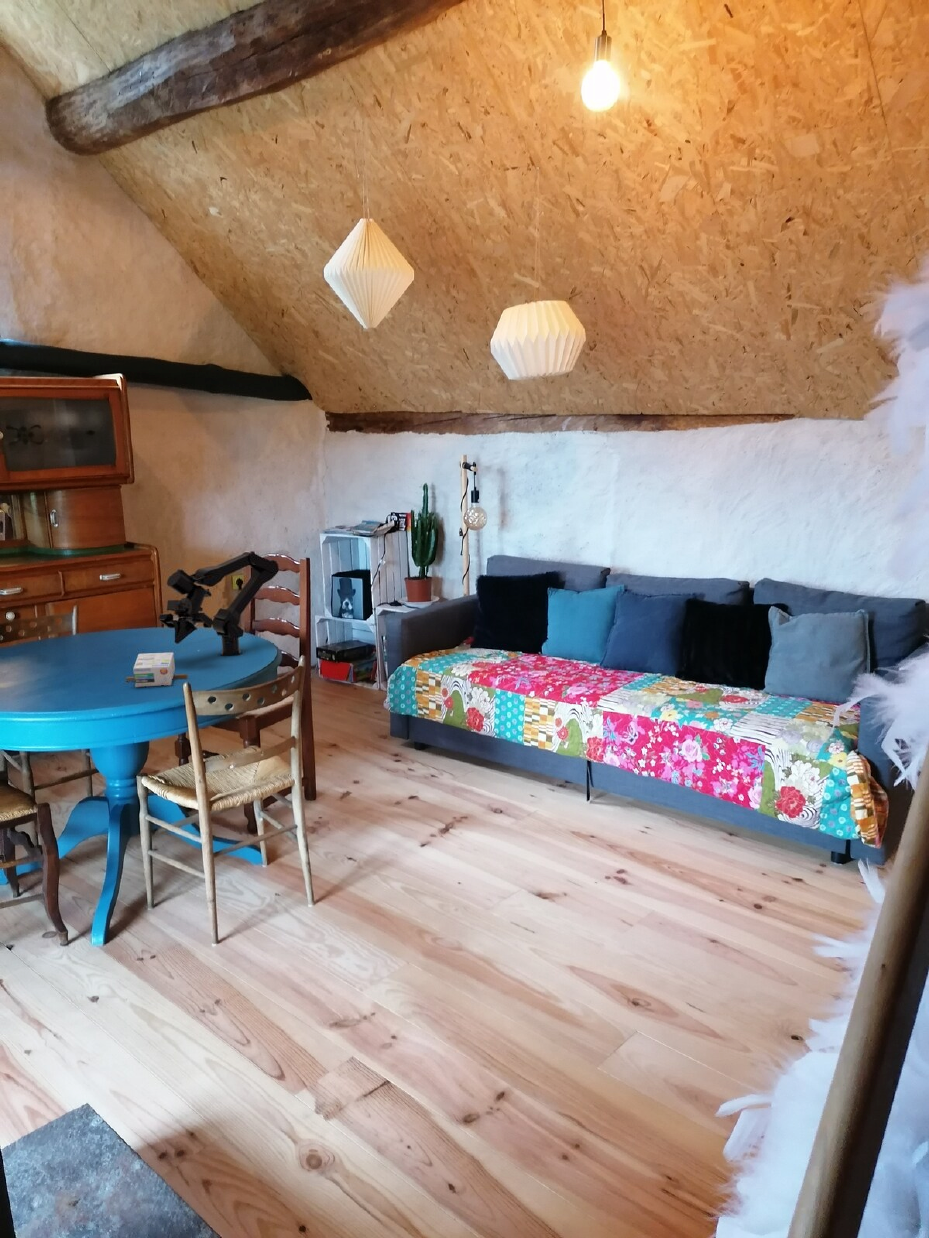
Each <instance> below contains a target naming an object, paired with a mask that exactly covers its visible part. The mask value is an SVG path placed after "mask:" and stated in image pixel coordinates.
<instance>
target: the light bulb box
mask: <svg viewBox="0 0 929 1238" xmlns="http://www.w3.org/2000/svg"><path fill="white" fill-rule="evenodd" d="M174 655H175V654H174V652H156V653H155V652H152V653H138V655H137V658H136V661H135V662H134V663H135V664H134V666H133V669H132V670H133V675H134V676H133V677H135V682H134V684H135V688H144V687H145V686H146V687H157V686H158V687H159V686H160V687H161V685H164V686H171V685H172V683H173V680H174V679H173V675H174V674H175V670H176V667H175V666H176V665H175V656H174ZM172 679H173V680H172Z"/></svg>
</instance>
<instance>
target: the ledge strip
mask: <svg viewBox="0 0 929 1238" xmlns="http://www.w3.org/2000/svg"><path fill="white" fill-rule="evenodd" d="M188 677H189V675H188V673H178V674H177V673H176V674H175V673H174V675H173V680H187V679H188ZM126 681H135V677H134V676H126V678H125V682H126Z"/></svg>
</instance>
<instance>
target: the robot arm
mask: <svg viewBox="0 0 929 1238" xmlns="http://www.w3.org/2000/svg"><path fill="white" fill-rule="evenodd" d="M248 566H249V567H250V568H252V571H251V577H250V578H249V580H247V582H246V583H245V585H244V586H243V587H242V588H241V590H240V591H239V593H238V594H237V596H236V597H235V598H234V599H233V601H232V602H231V604H230V605H229V606H228V607H227V608H222V607H221V608H219V609H218V611H217V612H216V614H215V615H213V618H212V617H210V616H209V615H208V614H207V613H205V612H203V607H202V606H203V603H204V600H205V598H209V597H210V598H211V597H212V593H211V591H210V588H212V587H215V586H216V585H218V584H219V583H221V582H222V581H223V579H224V578H225V577H226V576H228V575H231V574H233V573H235V572H237V571H239V570H241V569H244V568H246V567H248ZM279 570H280V569H279V564H278V562H277V561H276V560H274V559H267V558H265V557H262V556H260V555H258V554H256V553H255V552H249V551H244V552H243V553H241V554H240V555H237V556H235V557H232V558H230V559H229V560H226V561H224V562H222V563H220V564H217V565H211V566H205V567H201V568H198V569H197V570H196V571H195V572H194V573H192V574H188V573H186V571H185V570H183V569H181V568H177V570H176V571H175V572H174V573H172V574H171V575H169V577H168V578H167V580H166V585H167V586H168V587H169V588H171V589H172V590H173V591H175V592H176V593H178V594H179V595H181V596H182V595H185V597H182V598H181V599H180V600H179V599H178V600H177V599H171V600H170V599H168V600H167V603H166V611H172V612H174V613H173V614H172V613H169V612H166V613H165V612H164V613H160V615H158V616H159V617H158V622H160V623H161V624H163V625H164V626H165V627H167V628H168V629H174V643H175V644H176V645H177V644H180V643H181V642H183V640H185V639H186V638H187V637H188V636H189V635H191V634H192V633H193V632H194V631H197V630H198V628H197V627H198V625H199V624H200V623H201V624H202V626H203V628H205V629H211V628H212V629H213V630H214V631H215V633H216V635H217V636H218V637H219V636H220V637H221V647H222V648H221V652H220V656H233V655H234V656H237V655H240V654H241V652H242V649H241V648H240V640H239V638H240V637H243V636H244V629H242V628H241V627H240V626H239V624H240V623H241V622H240V621H241V615H242V613H243V612H244V611H245V610H246V609H247V607H248V605H249V604H250V603H251V601H252V600H253V599H254V597H255V596H256V595H257V593H258V592H259V591H260V589H261V588H262V586H263V585H264V584H266V583H268V582H269V581H271V580H272V579H274V578H275V577H276V575H278V573H279ZM203 586H204V587H203ZM205 587H210V588H205Z"/></svg>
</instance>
